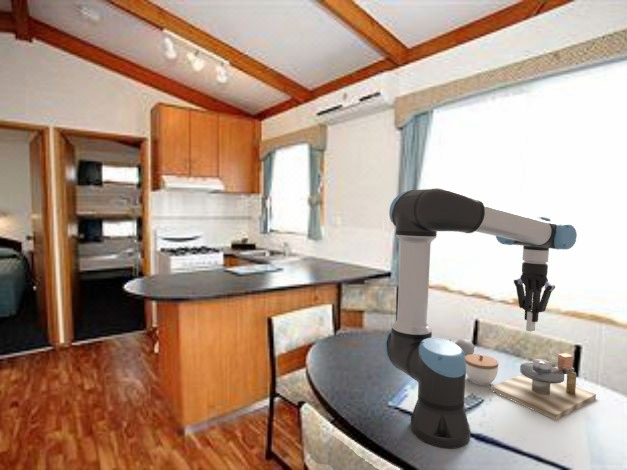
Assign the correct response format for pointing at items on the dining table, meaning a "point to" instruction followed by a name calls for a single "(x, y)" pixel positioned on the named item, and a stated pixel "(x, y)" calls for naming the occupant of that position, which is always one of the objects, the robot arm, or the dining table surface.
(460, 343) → the round bodied animal figurine
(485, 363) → the lidded jar
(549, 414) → the flange base
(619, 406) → the dining table surface
